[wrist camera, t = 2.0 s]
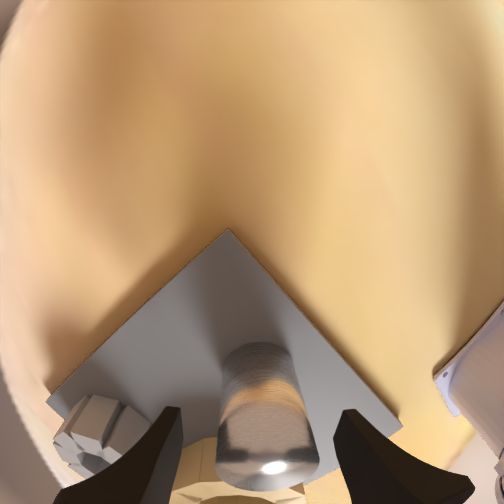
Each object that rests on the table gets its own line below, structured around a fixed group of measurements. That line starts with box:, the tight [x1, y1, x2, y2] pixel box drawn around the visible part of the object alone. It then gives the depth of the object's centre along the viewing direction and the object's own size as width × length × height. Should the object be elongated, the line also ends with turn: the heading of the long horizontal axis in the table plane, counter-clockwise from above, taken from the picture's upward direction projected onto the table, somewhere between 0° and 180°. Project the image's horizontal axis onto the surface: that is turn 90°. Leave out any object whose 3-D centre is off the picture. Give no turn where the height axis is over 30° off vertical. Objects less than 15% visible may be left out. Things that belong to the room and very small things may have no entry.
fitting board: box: [46, 228, 403, 504], centre depth 15 cm, size 20×20×5 cm
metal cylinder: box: [215, 342, 320, 492], centre depth 12 cm, size 4×4×7 cm
